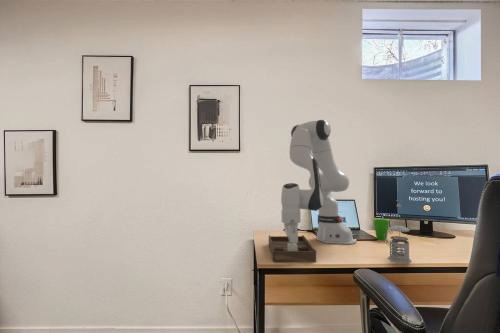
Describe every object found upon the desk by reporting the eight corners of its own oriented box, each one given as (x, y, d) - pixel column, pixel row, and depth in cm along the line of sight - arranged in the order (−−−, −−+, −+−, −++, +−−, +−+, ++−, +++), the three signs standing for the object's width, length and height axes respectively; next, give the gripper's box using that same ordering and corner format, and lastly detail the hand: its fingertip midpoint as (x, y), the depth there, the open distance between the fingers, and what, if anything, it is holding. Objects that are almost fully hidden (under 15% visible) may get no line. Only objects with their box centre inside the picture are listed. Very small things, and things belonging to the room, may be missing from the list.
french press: (404, 264, 123) (403, 205, 124) (379, 257, 133) (378, 203, 133) (416, 260, 128) (415, 204, 129) (391, 254, 138) (391, 202, 139)
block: (287, 251, 135) (287, 242, 135) (296, 251, 135) (295, 242, 135) (288, 253, 131) (288, 245, 131) (297, 253, 131) (297, 245, 131)
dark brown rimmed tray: (268, 244, 157) (268, 235, 157) (303, 244, 157) (303, 235, 157) (273, 262, 127) (273, 250, 127) (316, 261, 127) (316, 250, 127)
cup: (373, 240, 167) (372, 221, 167) (372, 236, 175) (372, 218, 175) (390, 241, 163) (390, 222, 163) (389, 237, 172) (389, 219, 172)
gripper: (301, 222, 125) (301, 254, 125) (294, 214, 145) (294, 241, 146) (286, 223, 125) (287, 254, 125) (282, 214, 145) (282, 241, 146)
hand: (291, 247), depth 136 cm, fingers closed, pressing on block
